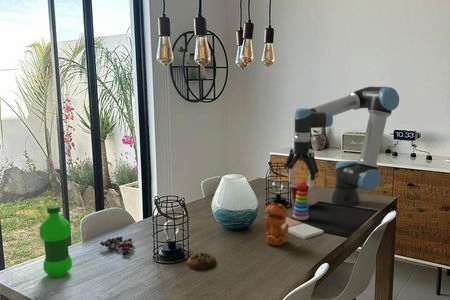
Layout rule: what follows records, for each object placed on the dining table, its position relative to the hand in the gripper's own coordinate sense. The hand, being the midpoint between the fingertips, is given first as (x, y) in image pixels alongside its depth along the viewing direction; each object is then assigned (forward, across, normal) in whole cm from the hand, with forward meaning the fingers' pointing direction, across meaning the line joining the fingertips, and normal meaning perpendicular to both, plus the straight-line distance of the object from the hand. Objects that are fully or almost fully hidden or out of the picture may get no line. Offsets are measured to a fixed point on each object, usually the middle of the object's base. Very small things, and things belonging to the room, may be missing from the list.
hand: (300, 184), depth 211 cm
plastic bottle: (+19, -7, -114) cm, 115 cm away
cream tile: (+17, +15, -12) cm, 26 cm away
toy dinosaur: (+18, +17, -32) cm, 40 cm away
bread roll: (+19, +16, -68) cm, 72 cm away
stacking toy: (+18, 0, 0) cm, 18 cm away
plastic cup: (+17, -16, +16) cm, 28 cm away
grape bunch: (+19, -16, -87) cm, 90 cm away
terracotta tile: (+18, +2, -12) cm, 22 cm away
